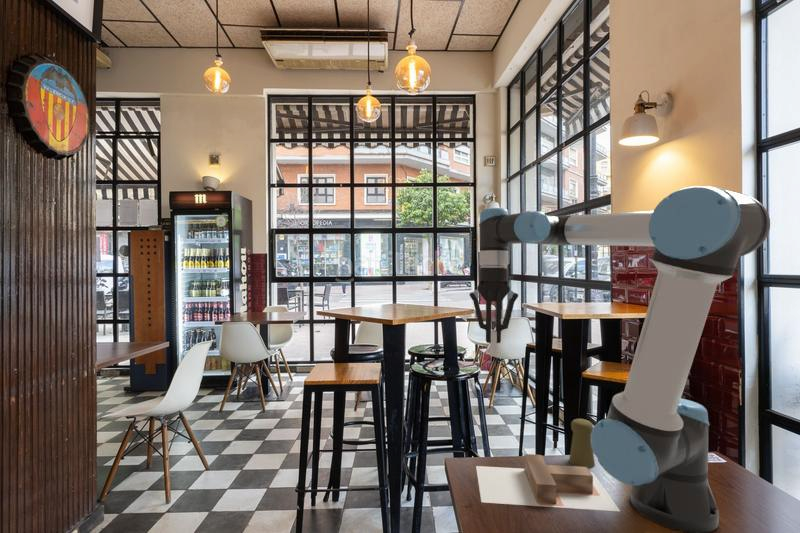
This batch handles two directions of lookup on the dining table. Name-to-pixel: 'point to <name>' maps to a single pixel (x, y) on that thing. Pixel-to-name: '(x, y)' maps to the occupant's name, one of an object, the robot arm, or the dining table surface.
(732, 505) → the dining table surface
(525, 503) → the mat
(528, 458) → the t block
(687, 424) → the robot arm
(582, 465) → the olive pepper mill
